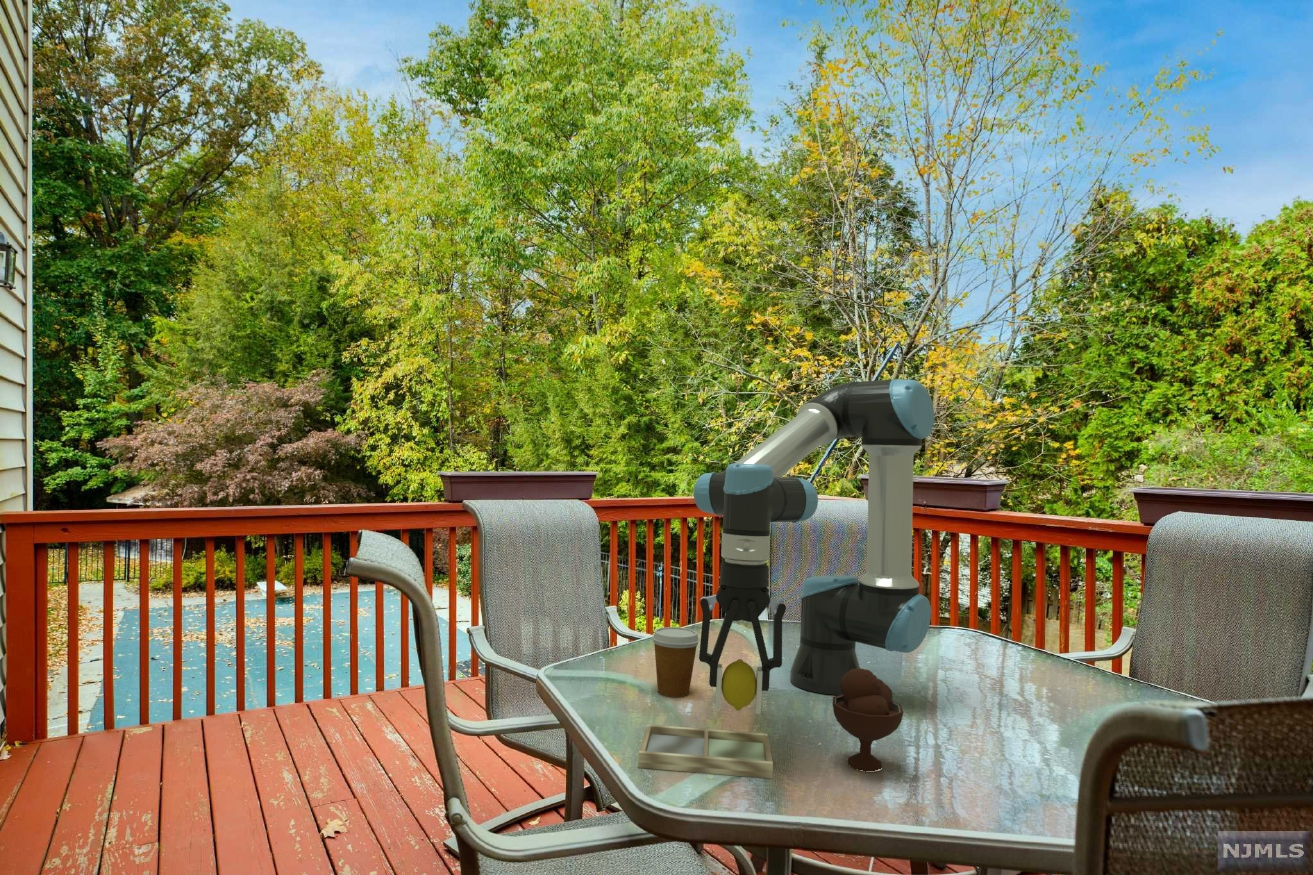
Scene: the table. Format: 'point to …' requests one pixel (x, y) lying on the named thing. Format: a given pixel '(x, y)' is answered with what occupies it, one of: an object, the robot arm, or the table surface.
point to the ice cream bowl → (866, 714)
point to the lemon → (739, 684)
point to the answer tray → (706, 751)
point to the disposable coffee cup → (674, 659)
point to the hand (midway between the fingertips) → (737, 708)
